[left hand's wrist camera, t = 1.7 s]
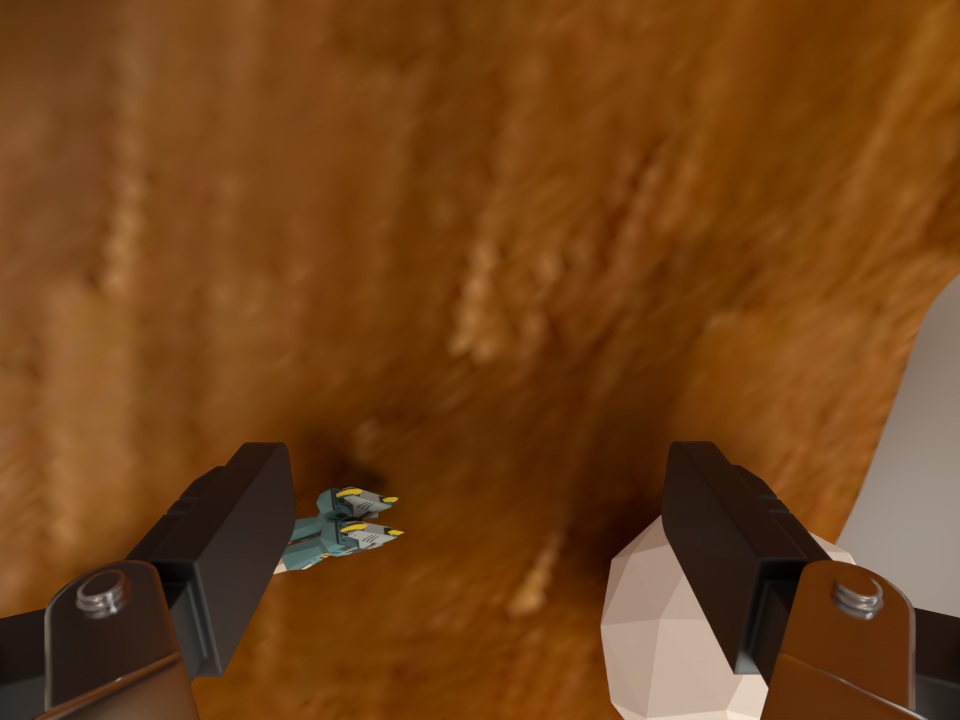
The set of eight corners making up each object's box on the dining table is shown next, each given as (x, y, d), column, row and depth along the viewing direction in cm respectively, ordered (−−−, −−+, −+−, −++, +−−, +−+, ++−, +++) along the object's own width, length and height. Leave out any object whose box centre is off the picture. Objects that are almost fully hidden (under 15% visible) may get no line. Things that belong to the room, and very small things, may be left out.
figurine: (365, 556, 36) (30, 664, 42) (417, 559, 43) (125, 651, 49) (350, 456, 39) (40, 570, 45) (401, 474, 46) (128, 570, 52)
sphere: (675, 546, 56) (700, 792, 45) (547, 490, 45) (539, 795, 34) (891, 519, 43) (997, 849, 33) (786, 432, 32) (891, 883, 22)
